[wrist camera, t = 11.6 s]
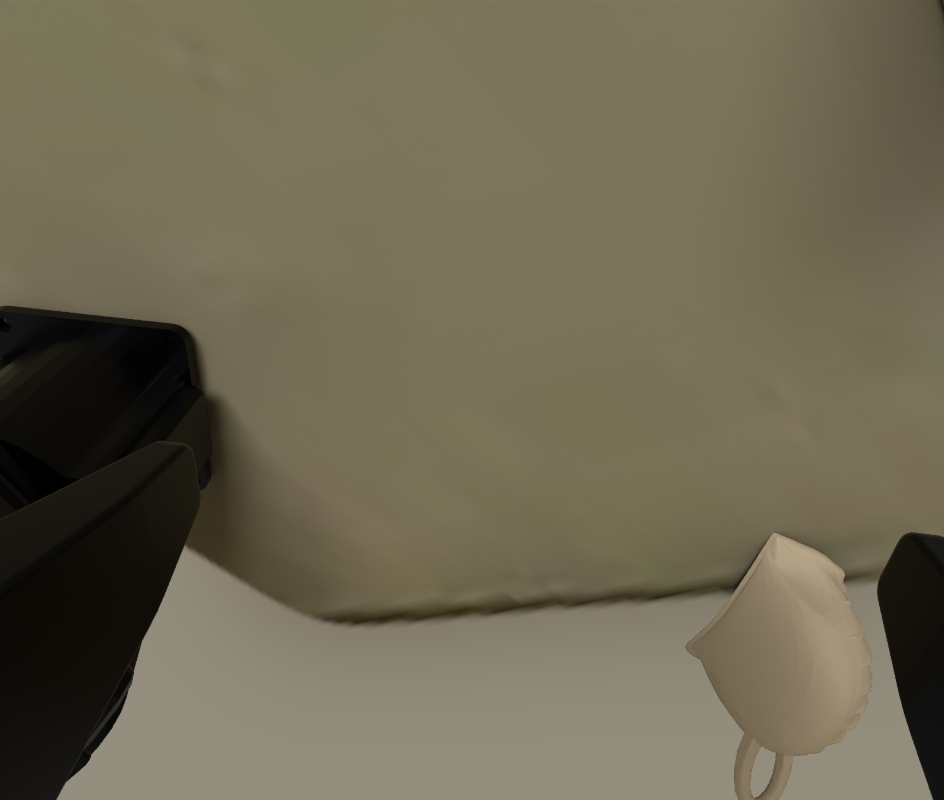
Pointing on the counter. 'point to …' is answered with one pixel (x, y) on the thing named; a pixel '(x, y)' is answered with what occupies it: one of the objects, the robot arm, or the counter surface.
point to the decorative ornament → (787, 659)
